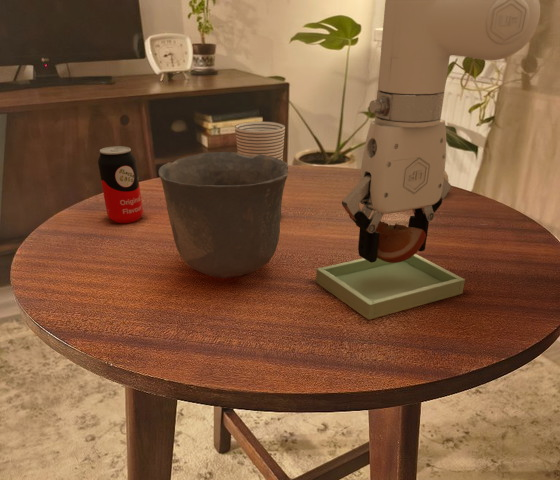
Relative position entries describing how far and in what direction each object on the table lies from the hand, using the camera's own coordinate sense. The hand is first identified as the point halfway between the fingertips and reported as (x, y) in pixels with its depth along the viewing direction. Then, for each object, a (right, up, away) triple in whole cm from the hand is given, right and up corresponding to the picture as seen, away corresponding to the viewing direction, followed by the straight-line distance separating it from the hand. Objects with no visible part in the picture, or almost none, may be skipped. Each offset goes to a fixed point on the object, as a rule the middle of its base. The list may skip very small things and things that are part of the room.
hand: (391, 252), depth 75 cm
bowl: (-22, -2, +7) cm, 23 cm away
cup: (-18, +12, +28) cm, 35 cm away
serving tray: (0, -4, +3) cm, 5 cm away
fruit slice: (0, -1, +1) cm, 1 cm away
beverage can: (-43, +12, +27) cm, 52 cm away
